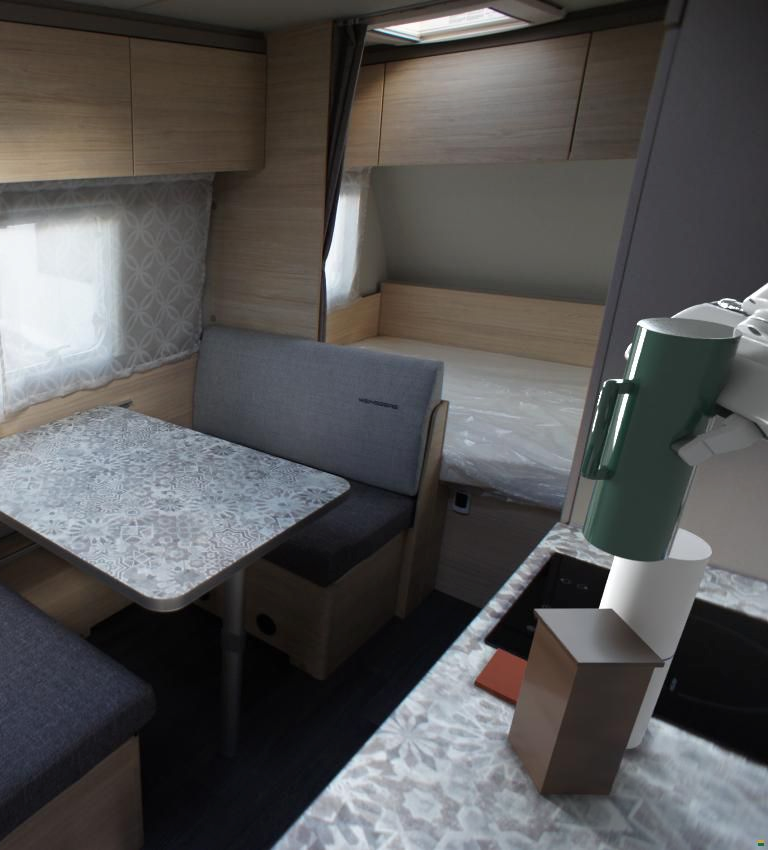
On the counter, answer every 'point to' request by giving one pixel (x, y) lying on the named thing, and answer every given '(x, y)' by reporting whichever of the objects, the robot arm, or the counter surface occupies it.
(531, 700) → the stand
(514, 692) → the pad
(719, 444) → the robot arm
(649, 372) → the jug
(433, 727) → the counter surface
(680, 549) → the cylindrical container
